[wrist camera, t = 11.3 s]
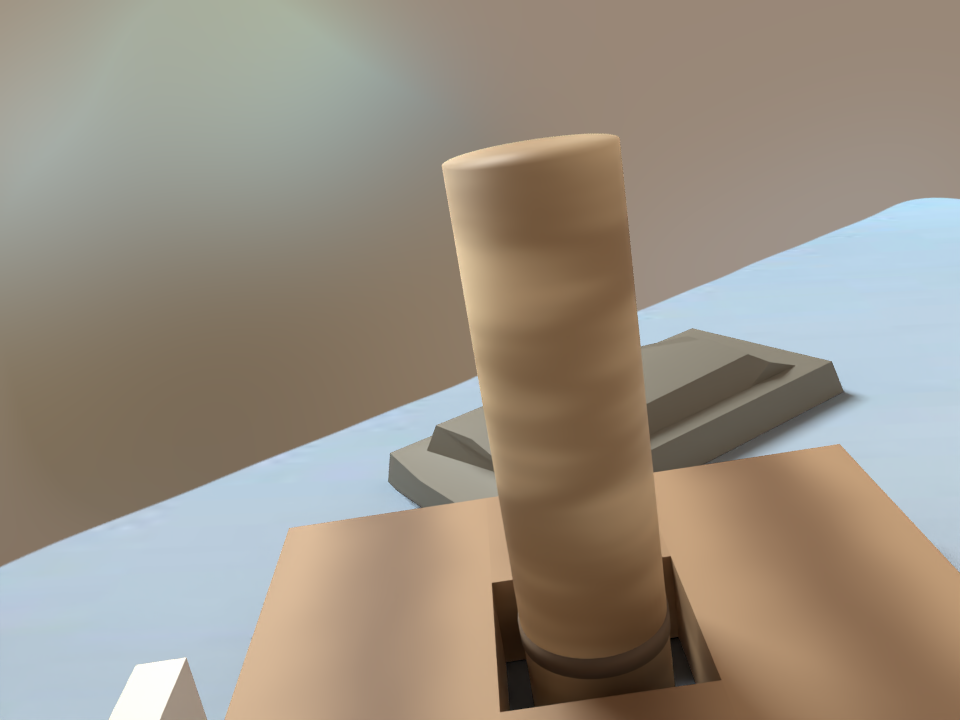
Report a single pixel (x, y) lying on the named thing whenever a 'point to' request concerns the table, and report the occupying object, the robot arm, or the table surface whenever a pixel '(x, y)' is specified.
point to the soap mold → (670, 408)
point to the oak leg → (565, 409)
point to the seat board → (689, 590)
